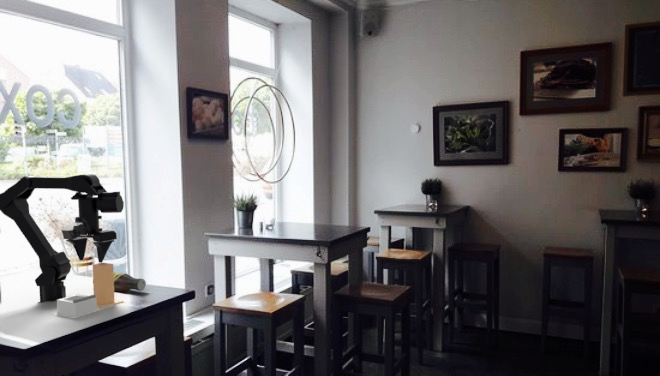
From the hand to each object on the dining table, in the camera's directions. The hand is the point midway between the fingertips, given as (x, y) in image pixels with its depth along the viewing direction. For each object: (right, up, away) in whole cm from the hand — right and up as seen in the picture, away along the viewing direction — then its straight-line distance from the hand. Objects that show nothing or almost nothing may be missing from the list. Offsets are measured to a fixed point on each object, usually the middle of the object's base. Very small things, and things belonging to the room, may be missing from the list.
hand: (90, 261), depth 159 cm
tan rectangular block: (+7, -12, -6) cm, 15 cm away
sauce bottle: (-6, -9, +17) cm, 20 cm away
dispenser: (+5, -14, -10) cm, 18 cm away
